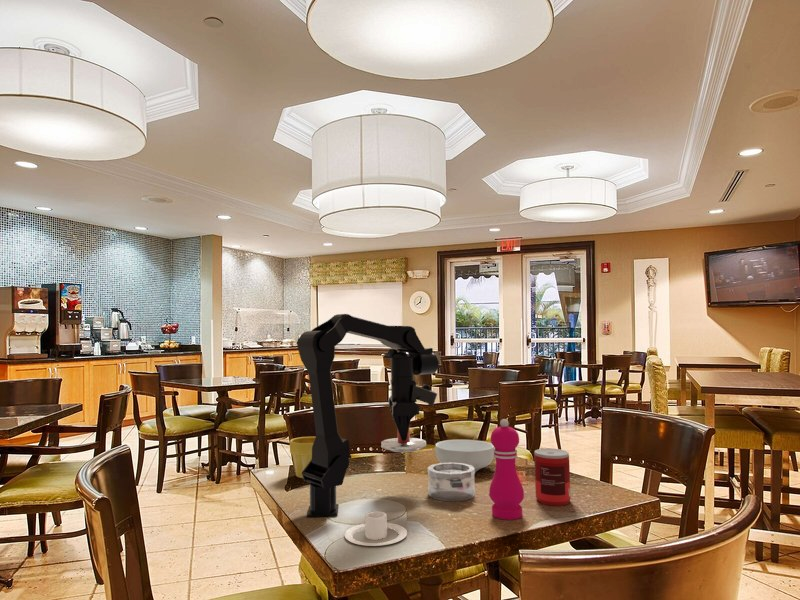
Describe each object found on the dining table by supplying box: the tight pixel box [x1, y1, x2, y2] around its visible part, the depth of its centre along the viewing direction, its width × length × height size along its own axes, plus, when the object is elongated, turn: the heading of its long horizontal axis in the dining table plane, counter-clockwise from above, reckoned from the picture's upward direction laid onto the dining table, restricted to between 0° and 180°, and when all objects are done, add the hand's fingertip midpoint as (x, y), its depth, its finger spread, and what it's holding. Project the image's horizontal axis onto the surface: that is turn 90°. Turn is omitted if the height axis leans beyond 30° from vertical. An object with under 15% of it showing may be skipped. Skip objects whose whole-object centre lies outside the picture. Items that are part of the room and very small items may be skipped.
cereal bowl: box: [434, 439, 495, 473], centre depth 151 cm, size 17×17×7 cm
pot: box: [427, 462, 476, 502], centre depth 128 cm, size 16×11×6 cm
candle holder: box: [344, 511, 408, 547], centre depth 102 cm, size 12×12×4 cm
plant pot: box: [289, 436, 316, 479], centre depth 148 cm, size 10×10×10 cm
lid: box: [380, 428, 427, 453], centre depth 132 cm, size 11×11×6 cm
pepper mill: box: [488, 418, 525, 521], centre depth 113 cm, size 7×7×20 cm
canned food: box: [533, 447, 571, 507], centre depth 122 cm, size 8×8×11 cm
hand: (403, 439), depth 132 cm, fingers closed on lid, 3 cm apart
